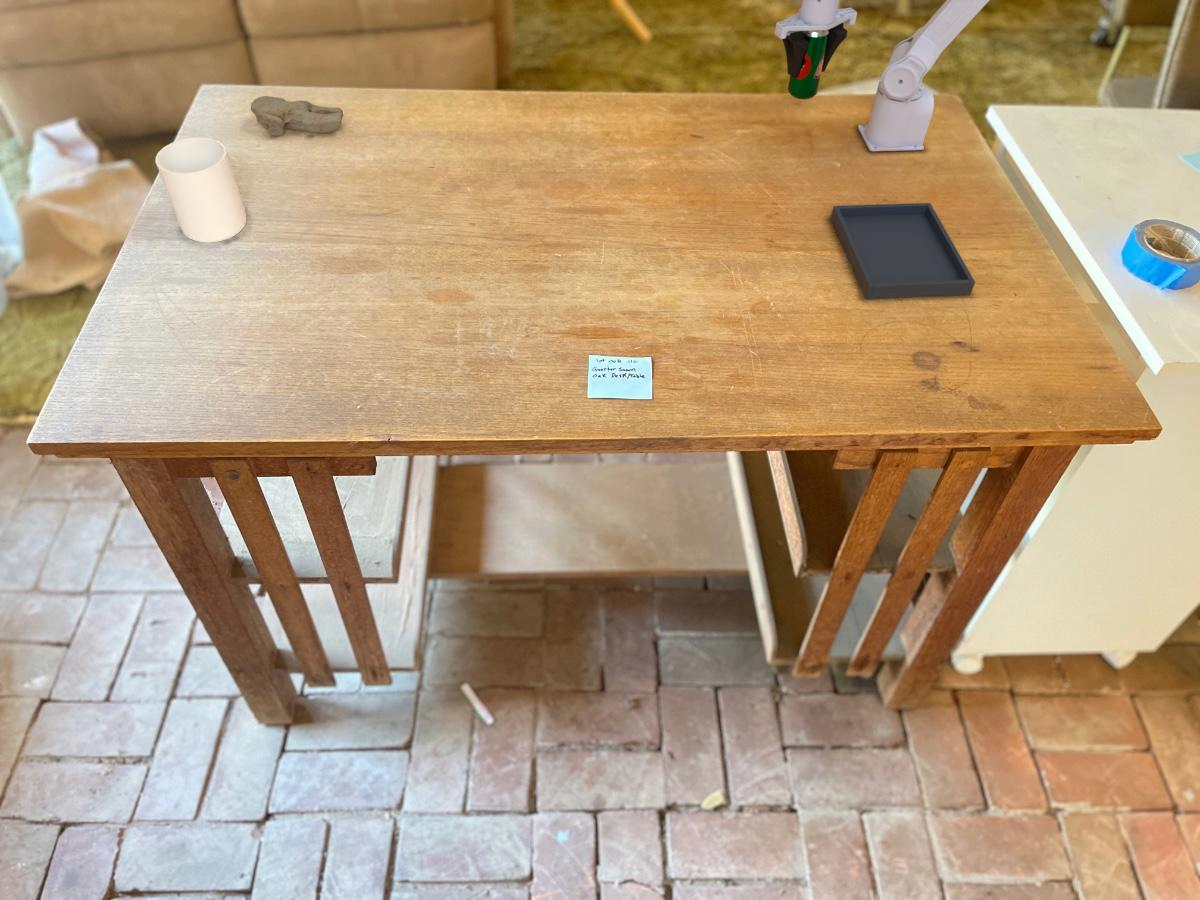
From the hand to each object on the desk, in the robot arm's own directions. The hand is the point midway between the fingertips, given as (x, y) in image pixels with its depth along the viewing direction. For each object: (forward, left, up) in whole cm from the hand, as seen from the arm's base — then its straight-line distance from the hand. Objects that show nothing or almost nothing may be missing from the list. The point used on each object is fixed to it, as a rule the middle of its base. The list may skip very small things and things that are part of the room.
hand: (806, 72), depth 155 cm
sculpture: (+86, -1, -9) cm, 86 cm away
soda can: (0, 0, -4) cm, 4 cm away
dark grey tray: (-6, +39, -9) cm, 41 cm away
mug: (+95, +25, -9) cm, 99 cm away
